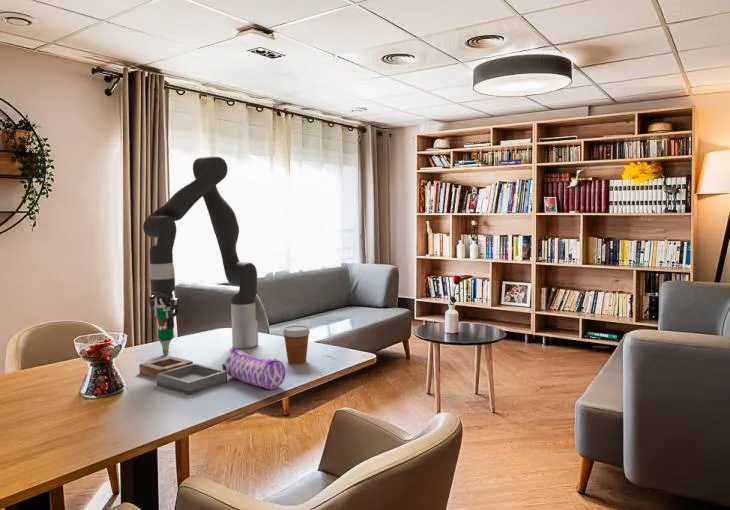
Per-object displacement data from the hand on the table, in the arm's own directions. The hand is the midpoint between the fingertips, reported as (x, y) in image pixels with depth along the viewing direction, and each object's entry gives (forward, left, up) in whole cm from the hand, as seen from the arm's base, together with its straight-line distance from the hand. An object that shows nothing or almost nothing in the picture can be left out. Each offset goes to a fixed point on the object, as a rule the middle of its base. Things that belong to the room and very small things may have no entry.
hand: (165, 327), depth 177 cm
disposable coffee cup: (-33, +28, -15) cm, 46 cm away
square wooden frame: (0, 0, -15) cm, 15 cm away
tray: (+3, +18, -15) cm, 23 cm away
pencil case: (-9, +33, -15) cm, 37 cm away
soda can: (0, 0, -4) cm, 4 cm away
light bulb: (-13, -20, -15) cm, 28 cm away
